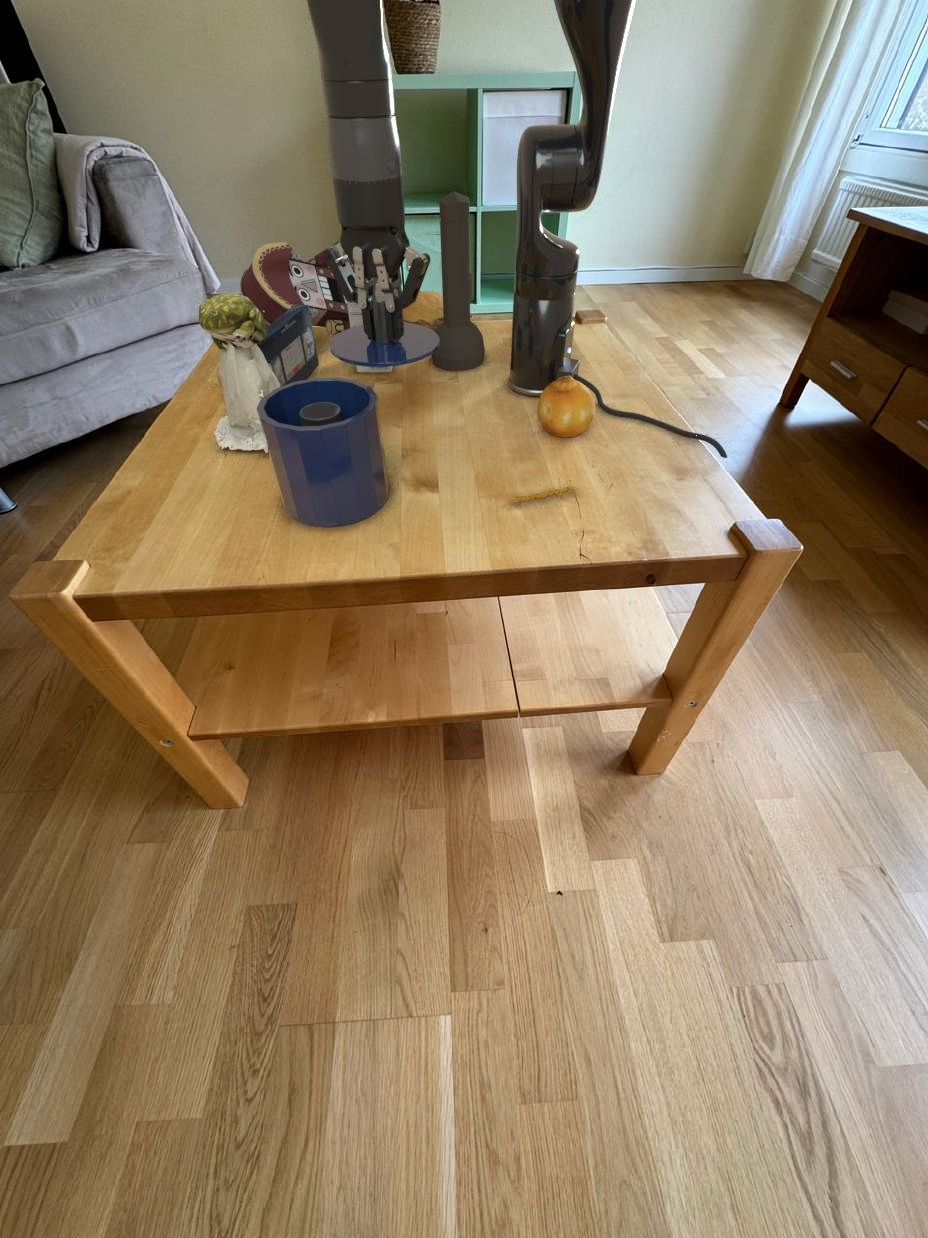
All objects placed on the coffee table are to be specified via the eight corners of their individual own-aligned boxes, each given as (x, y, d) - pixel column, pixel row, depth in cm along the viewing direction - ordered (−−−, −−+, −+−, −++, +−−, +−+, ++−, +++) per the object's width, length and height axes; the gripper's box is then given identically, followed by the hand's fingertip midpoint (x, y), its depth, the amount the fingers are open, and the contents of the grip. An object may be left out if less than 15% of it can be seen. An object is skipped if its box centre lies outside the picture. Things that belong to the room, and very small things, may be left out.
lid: (456, 337, 77) (455, 287, 73) (411, 379, 68) (406, 324, 64) (364, 324, 81) (358, 276, 77) (309, 362, 72) (299, 309, 67)
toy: (428, 315, 108) (282, 284, 88) (390, 351, 117) (251, 331, 97) (407, 245, 108) (257, 198, 88) (372, 287, 117) (229, 253, 97)
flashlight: (436, 373, 100) (491, 367, 101) (427, 198, 82) (494, 194, 83) (426, 353, 107) (477, 347, 108) (416, 187, 89) (477, 183, 90)
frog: (199, 436, 84) (148, 300, 71) (270, 405, 91) (236, 276, 78) (247, 462, 79) (201, 320, 66) (319, 427, 86) (291, 292, 72)
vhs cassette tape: (277, 410, 90) (260, 344, 83) (259, 408, 91) (241, 342, 84) (322, 364, 103) (311, 304, 96) (307, 363, 103) (294, 303, 96)
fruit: (517, 416, 83) (549, 373, 77) (544, 400, 88) (575, 359, 82) (556, 457, 83) (591, 417, 77) (580, 438, 88) (615, 400, 82)
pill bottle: (370, 493, 72) (358, 409, 65) (332, 513, 69) (314, 428, 62) (340, 475, 75) (325, 394, 68) (302, 494, 72) (281, 411, 65)
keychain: (574, 490, 72) (571, 494, 73) (571, 483, 72) (568, 487, 73) (516, 502, 70) (515, 506, 71) (514, 495, 71) (512, 499, 71)
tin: (405, 479, 75) (396, 386, 67) (357, 536, 67) (339, 438, 58) (319, 462, 79) (299, 371, 70) (263, 514, 70) (232, 418, 61)
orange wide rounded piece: (480, 332, 117) (455, 302, 120) (485, 313, 114) (460, 282, 117) (407, 344, 110) (383, 312, 113) (411, 324, 106) (386, 291, 109)
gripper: (440, 168, 62) (445, 336, 74) (329, 162, 66) (352, 323, 78) (410, 180, 57) (421, 358, 69) (292, 173, 61) (323, 342, 73)
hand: (384, 338), depth 74 cm, fingers closed on lid, 2 cm apart
